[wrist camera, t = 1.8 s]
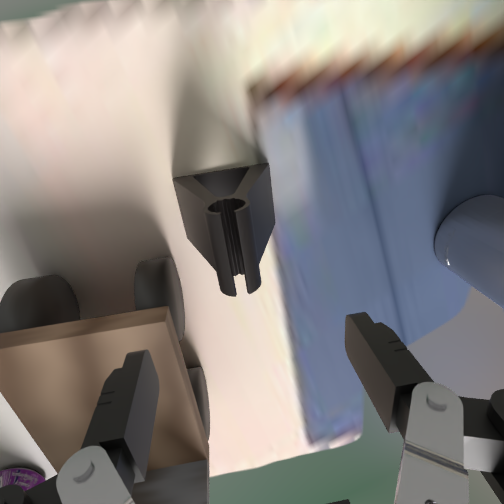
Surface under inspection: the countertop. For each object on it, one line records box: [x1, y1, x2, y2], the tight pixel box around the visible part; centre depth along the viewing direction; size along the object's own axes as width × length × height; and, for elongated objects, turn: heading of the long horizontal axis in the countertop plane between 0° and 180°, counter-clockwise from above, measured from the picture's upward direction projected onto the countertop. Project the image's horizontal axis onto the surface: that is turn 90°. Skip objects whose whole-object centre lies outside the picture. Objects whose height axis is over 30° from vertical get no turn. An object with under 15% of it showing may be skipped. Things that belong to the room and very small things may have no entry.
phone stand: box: [173, 163, 275, 297], centre depth 25 cm, size 9×6×12 cm, turn 97°
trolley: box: [0, 257, 210, 504], centre depth 27 cm, size 14×23×22 cm, turn 7°
